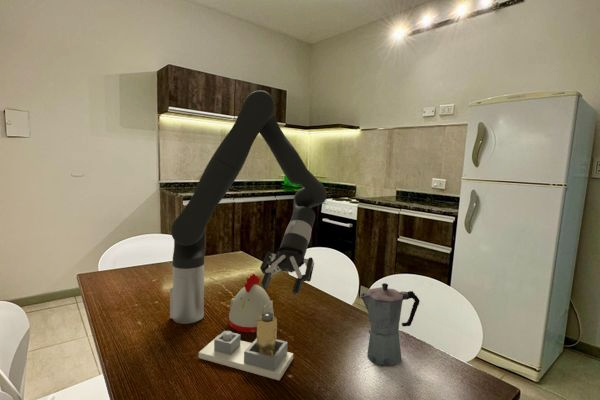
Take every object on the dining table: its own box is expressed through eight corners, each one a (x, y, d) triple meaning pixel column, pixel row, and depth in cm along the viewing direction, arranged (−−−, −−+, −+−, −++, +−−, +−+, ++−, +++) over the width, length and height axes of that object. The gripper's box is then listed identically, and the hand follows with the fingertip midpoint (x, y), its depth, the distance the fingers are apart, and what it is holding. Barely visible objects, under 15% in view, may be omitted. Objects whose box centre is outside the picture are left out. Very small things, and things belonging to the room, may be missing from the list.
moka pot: (352, 346, 90) (356, 276, 88) (405, 346, 92) (411, 277, 89) (361, 368, 81) (366, 290, 78) (421, 367, 82) (428, 291, 80)
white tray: (198, 357, 82) (198, 337, 81) (218, 340, 91) (219, 321, 90) (279, 380, 75) (280, 358, 74) (293, 358, 83) (293, 338, 83)
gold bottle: (252, 360, 79) (254, 317, 78) (261, 350, 84) (262, 308, 83) (270, 365, 78) (272, 320, 77) (278, 354, 82) (280, 312, 81)
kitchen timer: (219, 326, 98) (220, 278, 96) (243, 307, 111) (244, 265, 109) (260, 336, 93) (262, 286, 92) (280, 316, 106) (282, 271, 104)
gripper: (270, 229, 95) (250, 280, 85) (317, 234, 90) (302, 289, 81) (277, 243, 100) (259, 292, 91) (321, 249, 96) (307, 301, 86)
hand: (279, 290), depth 86 cm, fingers open, 8 cm apart
